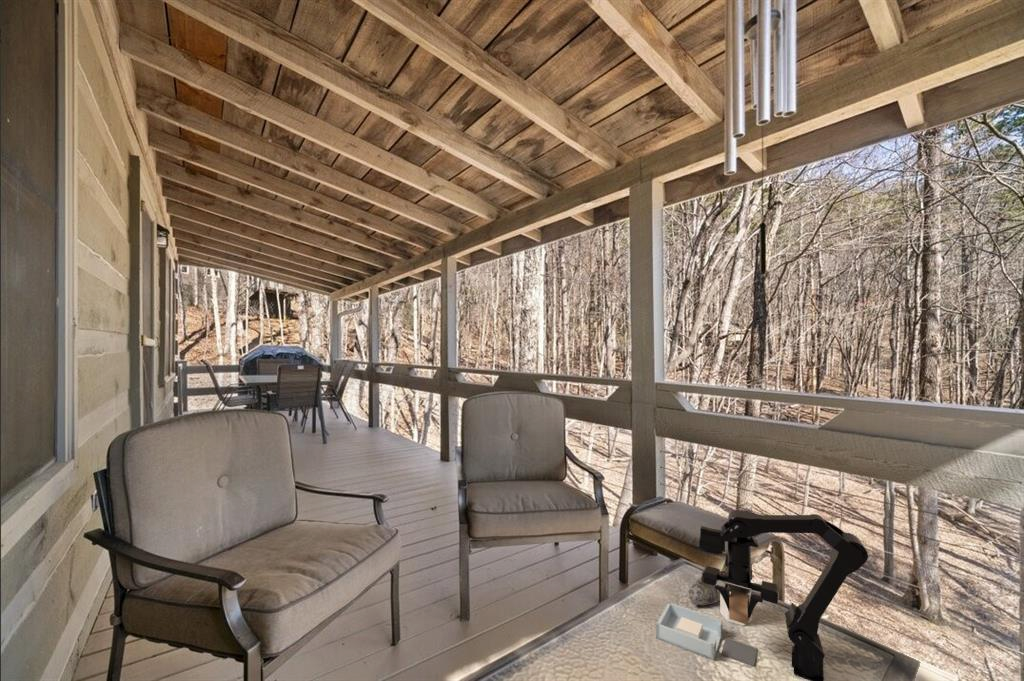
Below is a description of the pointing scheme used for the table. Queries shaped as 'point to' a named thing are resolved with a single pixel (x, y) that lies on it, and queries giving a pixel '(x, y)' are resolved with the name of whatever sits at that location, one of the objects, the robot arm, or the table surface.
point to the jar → (723, 607)
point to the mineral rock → (703, 593)
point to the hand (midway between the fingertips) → (739, 614)
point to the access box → (690, 630)
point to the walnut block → (739, 607)
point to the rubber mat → (739, 651)
